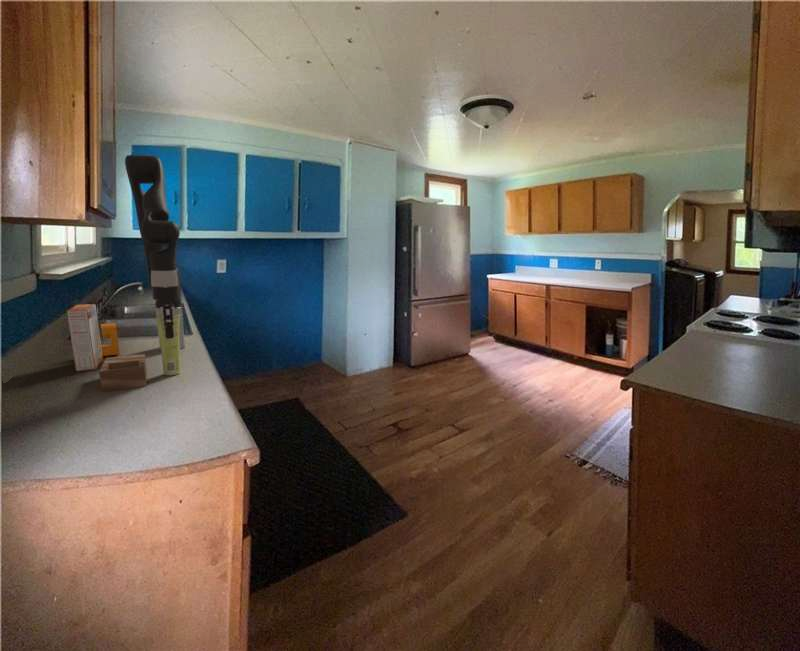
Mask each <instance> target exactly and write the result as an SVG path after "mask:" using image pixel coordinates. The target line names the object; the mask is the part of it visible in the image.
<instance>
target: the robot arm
mask: <svg viewBox="0 0 800 651" xmlns="http://www.w3.org/2000/svg"><path fill="white" fill-rule="evenodd" d="M124 164H125V170H126V175H127V178H128V182H129V186H130V190H131V193H132V196H133V201H134V207H135V212H136V217H137V224H138V229H139V230H138V231H139V234H140V237H141V242H142V247H143V251H144V255H145V260H146V261H145V263H146V271H147V278H148V283H149V286H150V288H151V292H152V299H153V300H154V301H155V302H154V303H155V304H154V305H155V313H156V315H155V316H156V318H157V317H162V320H164V326H165V332H166V338H167V339H168V338H173V337H174V333H173V326H174V323H173V319H174V316H177V315H180V321H179V348H180V350H182V349H185V348H186V345H185V343H186V342H185V332H184V329H185V328H184V319H183V307H182V294H181V292H182V291H181V273H180V271H179V269H178V268H177V263H176V262H177V261H176V260H177V259H176V258H177V256H176V255H177V247H178V243H179V239H180V235H181V234H180V233H181V232H180V227H179V226H178V224H177V223H176V222H174V221H171V220H170V212H169V208H168V204H167V198H166V177H165V171H164V166H163V164H162V160H161V159H160V158H159V157H158V156H155V155H146V154H145V155H140V154H137V155H136V154H129V155H128V154H127V155H126V156H125V158H124ZM141 184H144V185H147V184H148V185H149V184H150V185H151V186H150V187H149V188H148V189H147V190H146V191H144V189H143V188H142V185H141ZM166 244H167V246H166ZM165 246H166V248H164V247H165ZM166 320H171V322H166ZM157 333H158V332H157ZM157 336H158V345H159V350H160V351H161V346H160V339H159V333H158V334H157ZM181 348H182V349H181Z"/></svg>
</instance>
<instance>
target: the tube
mask: <svg viewBox="0 0 800 651" xmlns="http://www.w3.org/2000/svg"><path fill="white" fill-rule="evenodd" d="M179 321H180V315H177V316H174V319H173V323H174V326H173V333H174V337H173V338H168V339H167V338H166V332H165V326H164V320H162V317H157V316H156V317H155V322H156V326H157V333H159V337H158V340H159V339H160V346H161V350H160V352H161V359H162V360H161V361H162V362H161V363H162V370H163V375H164V376H176V375H179V374H181V357H180V356H181V354H180V351H181V349H180V348H179ZM166 322H171V320H166Z"/></svg>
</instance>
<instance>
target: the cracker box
mask: <svg viewBox="0 0 800 651" xmlns="http://www.w3.org/2000/svg"><path fill="white" fill-rule="evenodd" d="M96 306H97V305H96V304H95V303H92V304H91V303H89V304H86V303H85V304H76V305H75V306H73V307H71V308H70V309H68V310H66V314H67V316H66V317H67V322H68V328H69V334H70V340H71V347H72V354H73V359H74V360H73V361H74V367H75V372H84V371H85V372H86V371H92V370H93V371H95V370H97V368H98V367H99V365H100V363H102V361H103V358H104V356H102V349H101V345H102V343H101V337H100V336H101V334H100V328H99V327H100V326H99V322H98V321H99V320H98V314H97V307H96Z"/></svg>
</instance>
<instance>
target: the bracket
mask: <svg viewBox="0 0 800 651" xmlns="http://www.w3.org/2000/svg"><path fill="white" fill-rule="evenodd" d="M100 329H101V338H102V339H108V338H110V344H104V345H103V344H101V349H102V356H103V357H112V356H119V355H120V348H119V347H120V346H119V337H118V330H117V323H115V322H113V323H102V324H100Z"/></svg>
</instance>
